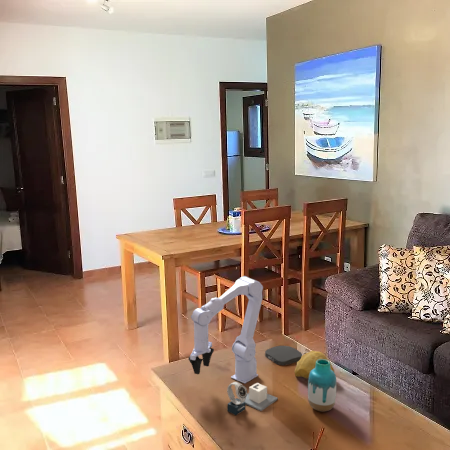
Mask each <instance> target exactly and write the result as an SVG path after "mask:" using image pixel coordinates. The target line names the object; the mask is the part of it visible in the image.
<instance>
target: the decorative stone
mask: <svg viewBox="0 0 450 450" xmlns="http://www.w3.org/2000/svg"><path fill="white" fill-rule="evenodd" d="M318 359H326V360H328V361H330V360H329V359H328V357H327V356H326V355H325V354H324V352H321V351H315V350H310V351H309V352H306V353H304V354H302V357H301V359H300V360H299V361H298V362H296V366H295V368H294V375H295V377H298V378H303V379H309V374H310V372H311V370H312V369H314V368H315V366H316V361H317V360H318ZM330 369H331V370H332V371H333V372H334V373H335V369H334V367H333V365H332V363H331V362H330Z"/></svg>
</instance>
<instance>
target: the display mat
mask: <svg viewBox="0 0 450 450" xmlns="http://www.w3.org/2000/svg"><path fill="white" fill-rule="evenodd" d="M276 401H278V397H276V396H275V395H273V394H269V393H267V399H265V400H264V401H262V402H260V403H259V404H258V403H256V402H254V401H252V400H250V399H249V392H247V396H246V400H245V401H244V402H245V406H249V407H251V408H253V409H255V410H256V411H257V410H258V411H260V412H262V411H264V410H265V409H267V408H268V407H269V406H271V405H272V404H273V403H275V402H276Z"/></svg>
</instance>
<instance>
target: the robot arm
mask: <svg viewBox="0 0 450 450" xmlns="http://www.w3.org/2000/svg"><path fill="white" fill-rule="evenodd" d="M263 289H264V286H263V284H262V283H261V282H260V281H258V280H256V279H253V278H250V277H249V276H246V275H243V276H241V277H239V278H238V279H237V280H235V282H234V284H233V285H232V286H231V287H230V288H228V289H227V290H226V291H225V292H224V293H223V294H222V295H221V296H219V297H216V296H215V297H211V299H210V300H209V301H208V302H207V303H205V304H204V305H202V306H201V307H198V308H195V309H194V310H193V311H192V314H191V315H190V318H191V320H192V321H193V341H194V342H193V345H194V346H193V349H192V352H191V354H190V355H189V356H188V361H189V362H190V364H191V366H192V369H193V373H194V375H200V373H201V366H204V367H210V362H211V358H212V356H213V353H214V352H215V349H214V348H212V347H213V341H209V324H210V323H211V321H212V319H213V317H214V316H216V315H217V314H218V313H219V312H221V311H222V310H223V309H224V307H225V305H226V304H227V303H228V302H230V301H232V300H234V299H235V298H236V297H238V296H240V295H241V296H246V297H247V299H248V302H247V306H246V310H245V315H244V319H243V323H242V325H241V331H240V335H237V336H236V337H235V341H234V342H233V344H232V346H231V351H232V353H233V354H234V359H235V360H234V361H235V362H234V363H235V364H234V368H235V369H234V370H235V371H234V374H233V375H231V376H230V378H231V379H232V380H236V381H237V382H239V383H243V384H247V383H249V382H250V381H251V380H253V379H255V378H257V377H258V376H259V374H258V373H257V371H258V370H257V369H258V367H257V359H256V353H257V352H256V345H257V344H256V342H255V340H254V335H255V331H256V326H257V323H258V319H259V314H260V310H261V307H262V301H263ZM200 356H202V357H201V358H200ZM202 364H203V365H202Z"/></svg>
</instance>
